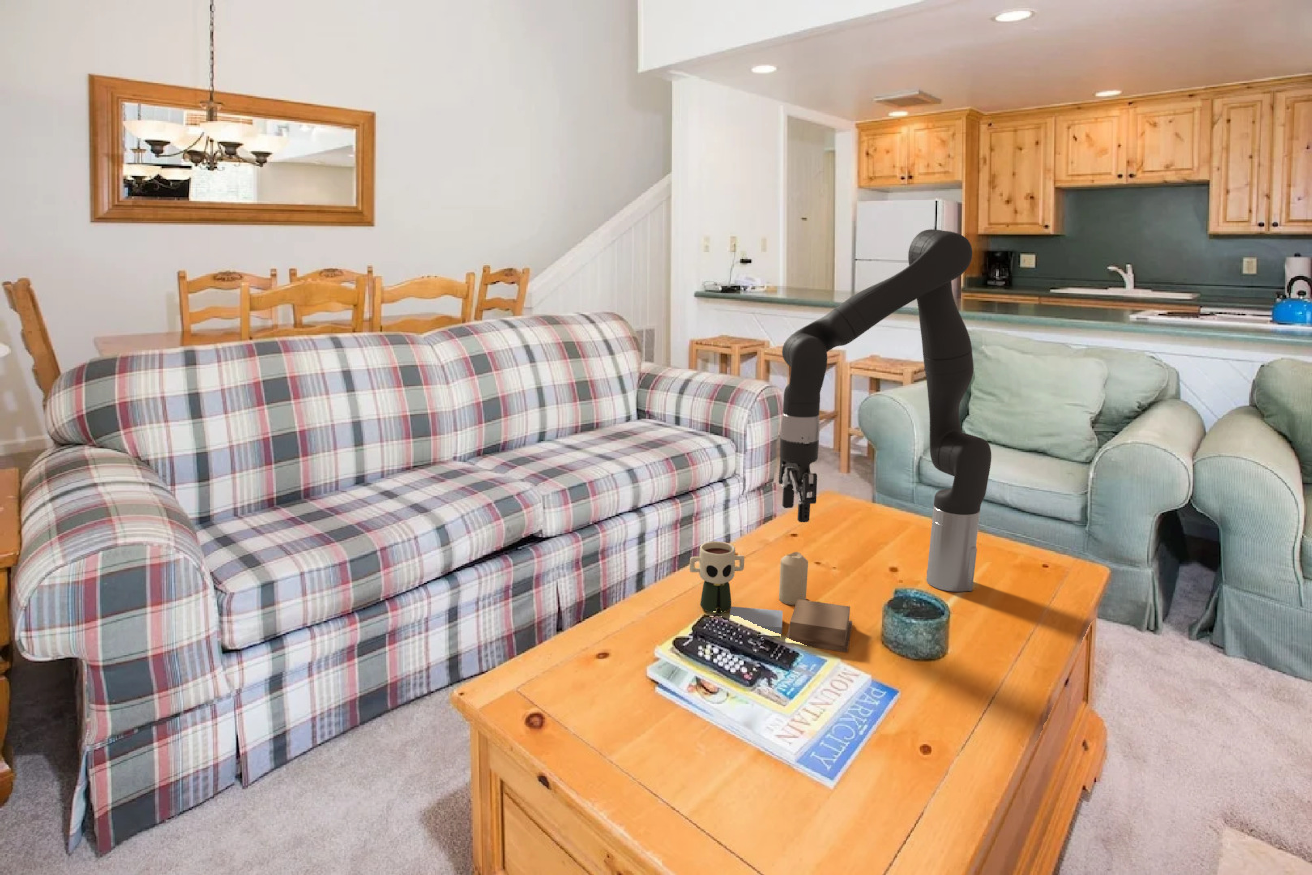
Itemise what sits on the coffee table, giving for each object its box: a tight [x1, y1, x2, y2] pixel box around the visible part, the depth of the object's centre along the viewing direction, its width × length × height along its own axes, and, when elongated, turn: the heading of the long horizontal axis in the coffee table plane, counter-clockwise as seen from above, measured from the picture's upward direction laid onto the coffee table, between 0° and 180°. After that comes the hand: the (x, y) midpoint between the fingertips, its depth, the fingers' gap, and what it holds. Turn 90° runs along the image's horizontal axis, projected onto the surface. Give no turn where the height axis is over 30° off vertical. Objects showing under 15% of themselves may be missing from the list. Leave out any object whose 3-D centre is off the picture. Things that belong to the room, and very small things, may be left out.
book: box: [729, 605, 784, 634], centre depth 154 cm, size 10×7×2 cm
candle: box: [778, 551, 809, 606], centre depth 164 cm, size 6×6×10 cm
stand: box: [785, 599, 853, 653], centre depth 151 cm, size 11×11×4 cm
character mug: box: [689, 541, 745, 613], centre depth 160 cm, size 11×7×13 cm, turn 96°
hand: (795, 514), depth 162 cm, fingers open, 8 cm apart
